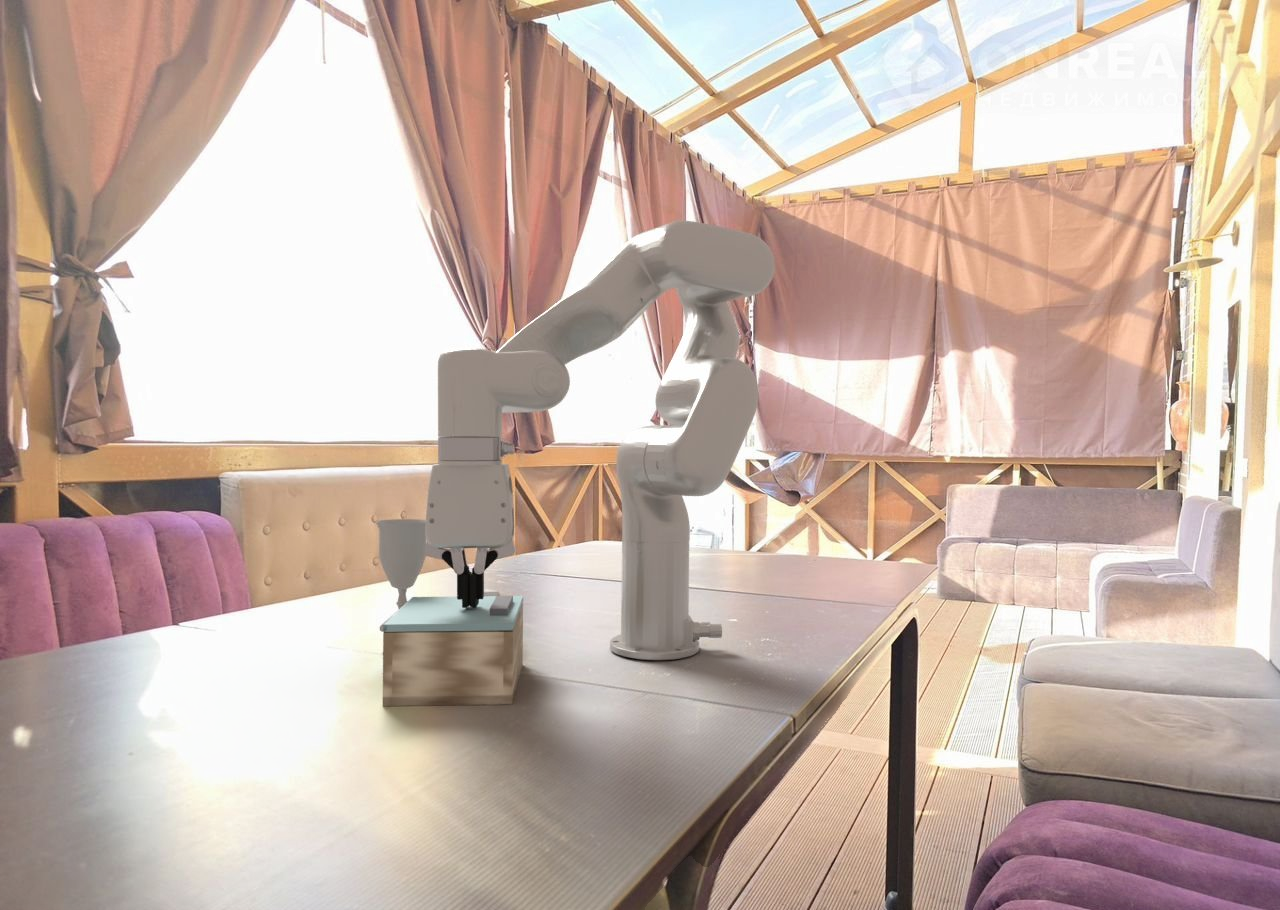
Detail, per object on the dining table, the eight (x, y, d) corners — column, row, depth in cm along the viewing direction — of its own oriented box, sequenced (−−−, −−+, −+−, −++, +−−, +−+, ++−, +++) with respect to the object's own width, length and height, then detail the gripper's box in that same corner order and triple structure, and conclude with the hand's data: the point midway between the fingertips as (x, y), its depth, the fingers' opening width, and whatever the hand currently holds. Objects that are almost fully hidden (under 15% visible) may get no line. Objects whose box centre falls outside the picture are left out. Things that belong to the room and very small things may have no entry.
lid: (523, 602, 103) (523, 589, 103) (512, 630, 87) (513, 615, 87) (410, 603, 102) (410, 590, 102) (379, 631, 86) (379, 617, 86)
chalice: (436, 646, 112) (437, 519, 111) (418, 659, 105) (419, 524, 105) (386, 644, 112) (387, 518, 112) (365, 657, 106) (366, 523, 105)
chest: (522, 664, 103) (523, 603, 103) (512, 704, 87) (512, 631, 87) (413, 665, 102) (413, 603, 102) (382, 706, 86) (383, 632, 86)
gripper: (534, 452, 99) (535, 598, 99) (413, 452, 97) (413, 600, 98) (531, 453, 91) (531, 611, 91) (399, 453, 90) (400, 613, 90)
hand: (470, 605), depth 95 cm, fingers closed
